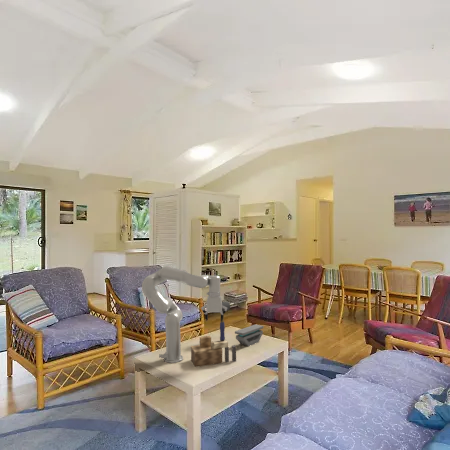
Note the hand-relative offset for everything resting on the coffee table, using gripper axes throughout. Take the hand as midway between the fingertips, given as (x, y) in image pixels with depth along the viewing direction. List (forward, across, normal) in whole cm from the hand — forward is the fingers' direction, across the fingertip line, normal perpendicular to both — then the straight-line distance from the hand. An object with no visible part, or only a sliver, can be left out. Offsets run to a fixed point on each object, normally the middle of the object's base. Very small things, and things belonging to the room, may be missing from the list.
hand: (214, 320), depth 225 cm
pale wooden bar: (+16, +4, -4) cm, 17 cm away
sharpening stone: (+26, +24, +35) cm, 50 cm away
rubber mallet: (+26, +3, +40) cm, 48 cm away
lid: (+18, -5, -3) cm, 19 cm away
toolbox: (+26, 0, -1) cm, 26 cm away
